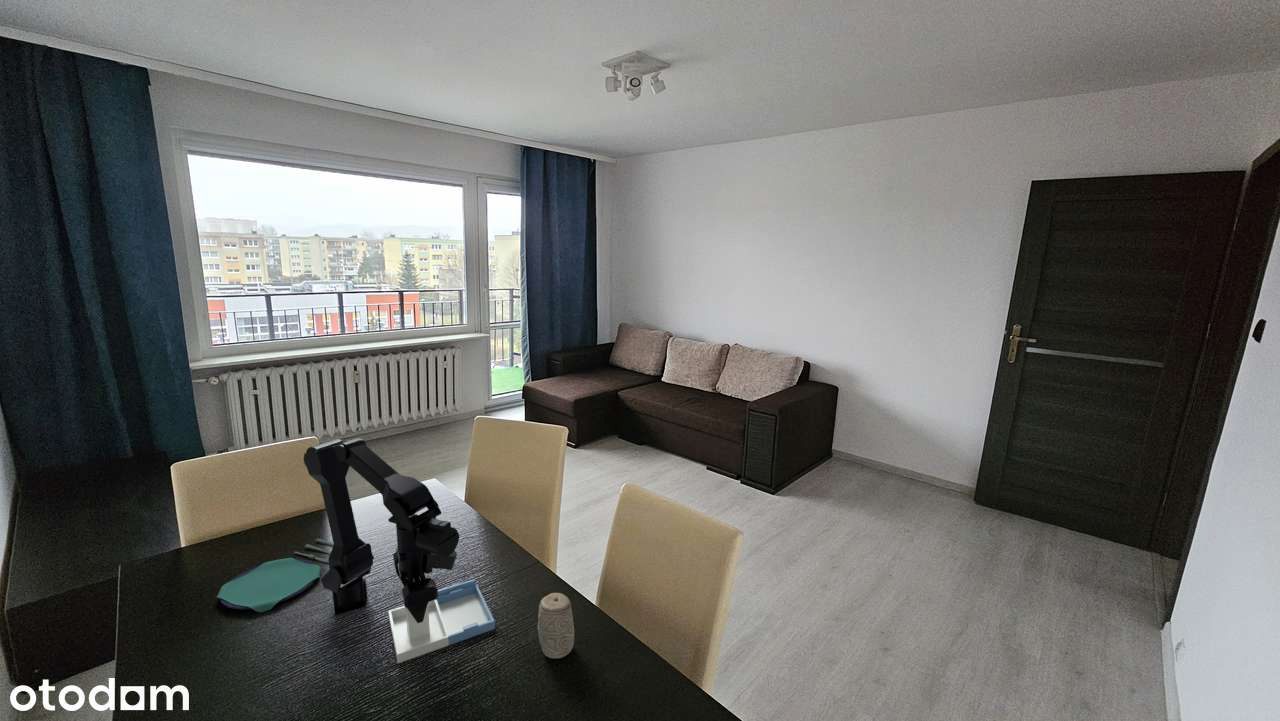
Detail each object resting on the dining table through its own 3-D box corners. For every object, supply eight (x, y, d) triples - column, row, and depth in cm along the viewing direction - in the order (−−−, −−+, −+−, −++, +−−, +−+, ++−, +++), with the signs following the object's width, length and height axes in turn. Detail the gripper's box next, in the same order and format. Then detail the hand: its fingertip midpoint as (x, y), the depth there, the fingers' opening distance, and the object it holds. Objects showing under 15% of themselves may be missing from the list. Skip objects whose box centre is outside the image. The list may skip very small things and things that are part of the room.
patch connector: (409, 640, 108) (407, 604, 106) (407, 628, 111) (404, 593, 110) (429, 633, 110) (427, 598, 108) (426, 622, 113) (424, 588, 112)
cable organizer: (397, 665, 102) (396, 649, 101) (388, 618, 115) (387, 604, 114) (494, 630, 112) (494, 616, 111) (476, 591, 125) (475, 578, 124)
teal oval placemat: (198, 603, 118) (197, 594, 118) (314, 541, 147) (314, 533, 146) (261, 624, 113) (260, 615, 112) (369, 555, 141) (369, 547, 140)
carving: (541, 639, 110) (541, 589, 108) (576, 641, 110) (576, 591, 107) (534, 662, 104) (534, 609, 101) (571, 663, 103) (571, 611, 101)
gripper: (462, 554, 103) (465, 622, 106) (443, 515, 119) (446, 575, 122) (402, 570, 97) (407, 642, 100) (390, 527, 113) (395, 590, 116)
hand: (416, 609), depth 110 cm, fingers open, 9 cm apart
